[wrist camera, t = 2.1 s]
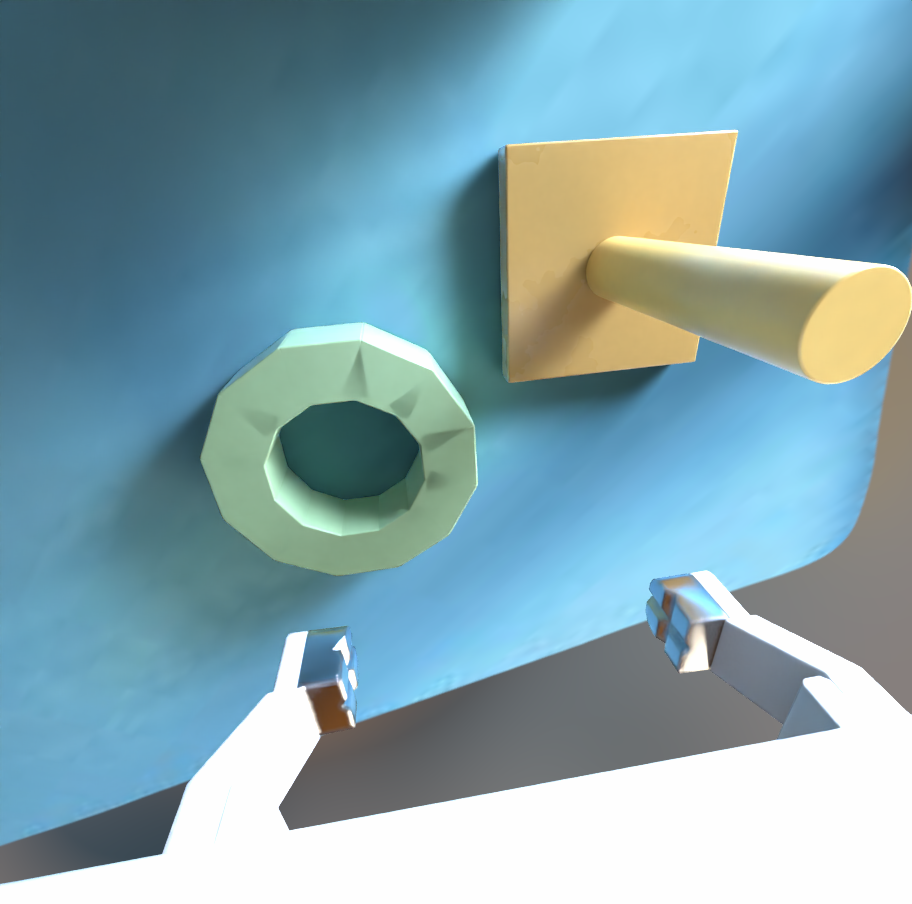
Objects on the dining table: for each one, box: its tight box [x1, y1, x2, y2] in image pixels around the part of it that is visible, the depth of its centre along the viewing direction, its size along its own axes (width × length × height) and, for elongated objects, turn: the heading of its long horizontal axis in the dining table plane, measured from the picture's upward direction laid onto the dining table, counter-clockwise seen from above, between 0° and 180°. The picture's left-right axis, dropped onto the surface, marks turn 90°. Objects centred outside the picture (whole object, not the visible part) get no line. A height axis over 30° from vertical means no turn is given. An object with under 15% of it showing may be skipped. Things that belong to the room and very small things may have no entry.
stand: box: [498, 130, 912, 384], centre depth 15 cm, size 9×9×12 cm
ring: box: [200, 322, 478, 576], centre depth 21 cm, size 11×11×3 cm
